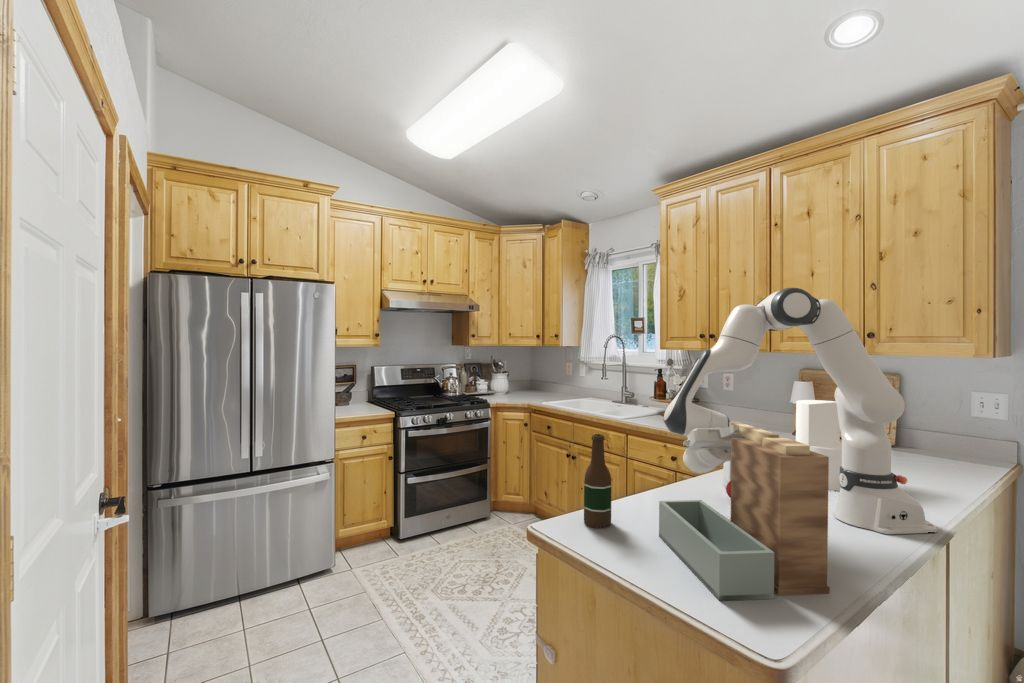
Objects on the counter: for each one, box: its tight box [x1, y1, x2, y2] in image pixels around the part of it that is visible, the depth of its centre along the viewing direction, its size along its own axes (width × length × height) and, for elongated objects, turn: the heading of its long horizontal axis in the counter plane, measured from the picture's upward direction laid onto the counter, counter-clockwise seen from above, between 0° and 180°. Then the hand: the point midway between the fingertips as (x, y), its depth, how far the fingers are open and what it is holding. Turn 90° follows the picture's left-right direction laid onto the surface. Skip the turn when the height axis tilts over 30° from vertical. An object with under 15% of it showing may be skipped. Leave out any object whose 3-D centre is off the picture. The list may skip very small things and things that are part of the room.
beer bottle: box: [583, 433, 612, 530], centre depth 130 cm, size 8×8×24 cm
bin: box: [658, 499, 775, 602], centre depth 108 cm, size 30×11×9 cm, turn 5°
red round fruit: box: [725, 481, 731, 499], centre depth 148 cm, size 6×6×8 cm
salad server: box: [729, 421, 810, 455], centre depth 109 cm, size 24×5×2 cm, turn 4°
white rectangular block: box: [795, 399, 842, 492], centre depth 168 cm, size 17×17×28 cm
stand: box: [730, 438, 831, 596], centre depth 104 cm, size 19×11×27 cm, turn 5°
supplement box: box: [722, 461, 731, 489], centre depth 160 cm, size 7×7×13 cm
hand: (743, 427), depth 116 cm, fingers closed on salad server, 2 cm apart
